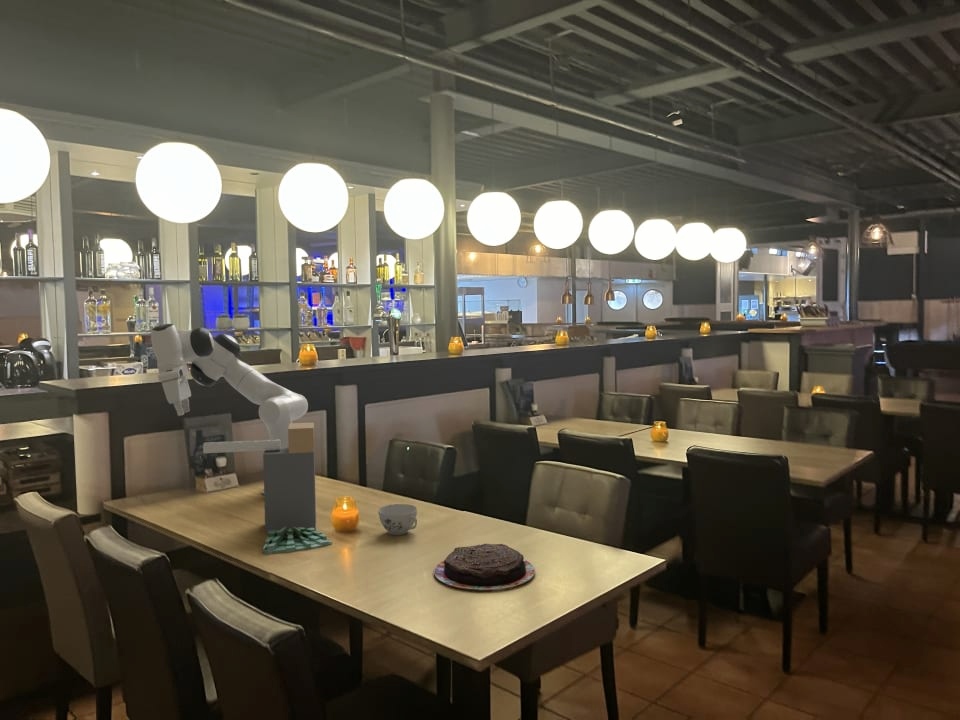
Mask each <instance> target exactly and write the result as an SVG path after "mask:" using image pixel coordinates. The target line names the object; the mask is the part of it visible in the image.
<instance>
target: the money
mask: <svg viewBox="0 0 960 720" xmlns="http://www.w3.org/2000/svg"><path fill="white" fill-rule="evenodd" d="M305 529H306V528H303V527H299V528H296V527H293V532H292V530H291V529H289V530H288V532H287V527H284V528H282V529H281V530H273V531H269V532H268V533H267V537H266V539H265V541H264V543H265V544H264V545H263V547H262V550H263V555H271V554H272V555H273V554H282V553H292V552H300V551H307V550H312V549H319V548H323V547H326V546H330V545H332V544H333V542H332V541H331V540H328V539H327V537H328V535H325V534H324V533H322V532H321V531H319V530H317V528H316V529H315V528H308V529H306V531H305Z"/></svg>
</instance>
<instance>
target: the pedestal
mask: <svg viewBox="0 0 960 720" xmlns="http://www.w3.org/2000/svg"><path fill="white" fill-rule="evenodd" d="M288 444H289V447H281V448H280V450H267V451H263V454H262V455H263V456H262V457H263V458H262V459H263V464H262V465H263V490H264V494H263V495H264V496H263V498H264V499H263V500H264V502H263V503H264V529H265V533H264V534H268V532H269V531H273V530H281V529H282V528H284V527H287V533H288V530H289V529H291V530H292V533H293V527H296V528H299V527H303V528H306V529H308V528H315V529H316V530H317V525H316V524H317V508H316V507H317V505H316V503H317V502H316V466H315V465H316V464H315V463H316V462H315V461H316V460H315V459H316V458H315V456H316V455H315V453H316V452H315V422H292V423H290V424H289V428H288ZM306 529H305V531H306Z"/></svg>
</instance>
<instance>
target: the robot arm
mask: <svg viewBox="0 0 960 720" xmlns="http://www.w3.org/2000/svg"><path fill="white" fill-rule="evenodd" d="M150 338H151V339H150V340H151V345H152V350H153V354H154V357H155V359H156V361H157V370H158V381H159V382H160V383H161V385H162V389H163V392H164V394H165V398H166V400H167V403H169V404H173V406H174V408H175V411H176V414H177V416H178V417H180V416H183V415H185V414H186V413H188V412H190V411H191V410H190V400H189V398H190V397H192V392H191V389H190V385H189V381H188V377H187V376H189V375H190V376H191V377H192V379H193V380H194V381H195V382H196V383H197V384H199V385H201V386H204V387H212V386H214V385H215V384H216V383H217V382H218V381H219V379H220V378H221V377H222V376H223V378H224V379H225V381H226V382H227V383H228V384H229V385H230V386H231V387H232V388H233V389H234V390H235V391H237V392H238V393H239V394H241V395H242V396H244V397H245V398H246V399H247V400H248V401H250V402H251V403H253V404H255V405H258V406H259V407H258V416H259V419H260V420H261V421H262V423H263V424H265V427H266V429H267V432H268V435H269V440H278V439H280V446H281V447H289V444H288V428H289V424H290V423H293V421H297V420H299V419H300V418H302V417H303V416H304V415H306V414H307V412H308V410H309V402H308V399H306V397H305V396H304V395H303V394H300V393H296V392H294V391H291V390H289V389H288V388H285V386H284V387H283V386H281V385H279V384H277V383H276V382H274V381H272V380H271V379H269V378H268V377H267V376H265V375H264V374H263V373H261V372H259V371H258V370H257V369H256V368H255V367H252V365H249V364H248V363H246V362H244V361H242V360H240V359H239V358H242V356H243V355H242V354H241V350H242V349H241V345H240V344H239V342H238V341H237V339H236V338H235V337H234V336H231V335H229V334H225V333H219V334H218V335H216V336H215V337H214V338H213V335H212V333H211V332H210V330H208V329H207V328H205V327H202V326H201V327H196V328H194V329H189V330H186V331H181V332H178V330H177V327H176V326H175V324H173V323H164V324H160V325H156V326H154V327H152V328H151V329H150ZM238 357H239V358H238ZM187 363H188V364H189V365H188V364H187ZM188 366H189V367H190V368H189V369H188ZM189 370H190V371H189ZM261 494H263V495H264V489H262V490H261Z"/></svg>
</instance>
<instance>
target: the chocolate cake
mask: <svg viewBox="0 0 960 720" xmlns="http://www.w3.org/2000/svg"><path fill="white" fill-rule="evenodd" d="M535 573H536V570H535V567H534V565H533V564H532V563H531V562H530V561H528V560H526V559H525V558H524V555H523V554H522V553H520V552H519V550H516V549H514V548H513V547H509V545H506V544H504V543H497V544H496V543H483V544H476V545H469V546H459V547H455V548H454V549H453V551H452V552H450V554H448V555H447V556H446V557H445V559H444V560H443V561H440V562H439V563H438V564H437V565H436V566H435V567H434V568H433V575H434V577H435V579H437V580H438V582H441V583H443V584H444V585H445V586H446V587H448V588H457V589H459V590H461V591H466V592H472V593H473V592H474V593H485V592H486V593H487V592H496V591H498V592H499V591H505V590H512V589H515V588H516V587H518V586H520V585H522V584H525V583H530V582H531V580H532V579H533V577H534V575H535Z"/></svg>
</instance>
